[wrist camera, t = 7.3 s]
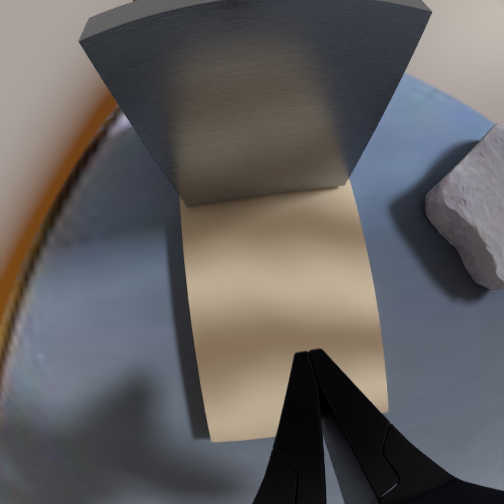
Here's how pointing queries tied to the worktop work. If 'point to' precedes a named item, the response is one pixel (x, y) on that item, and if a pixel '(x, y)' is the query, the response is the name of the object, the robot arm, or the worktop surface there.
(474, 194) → the stone block
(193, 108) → the grey flat rectangular panel
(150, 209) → the worktop surface
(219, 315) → the wooden book rack
